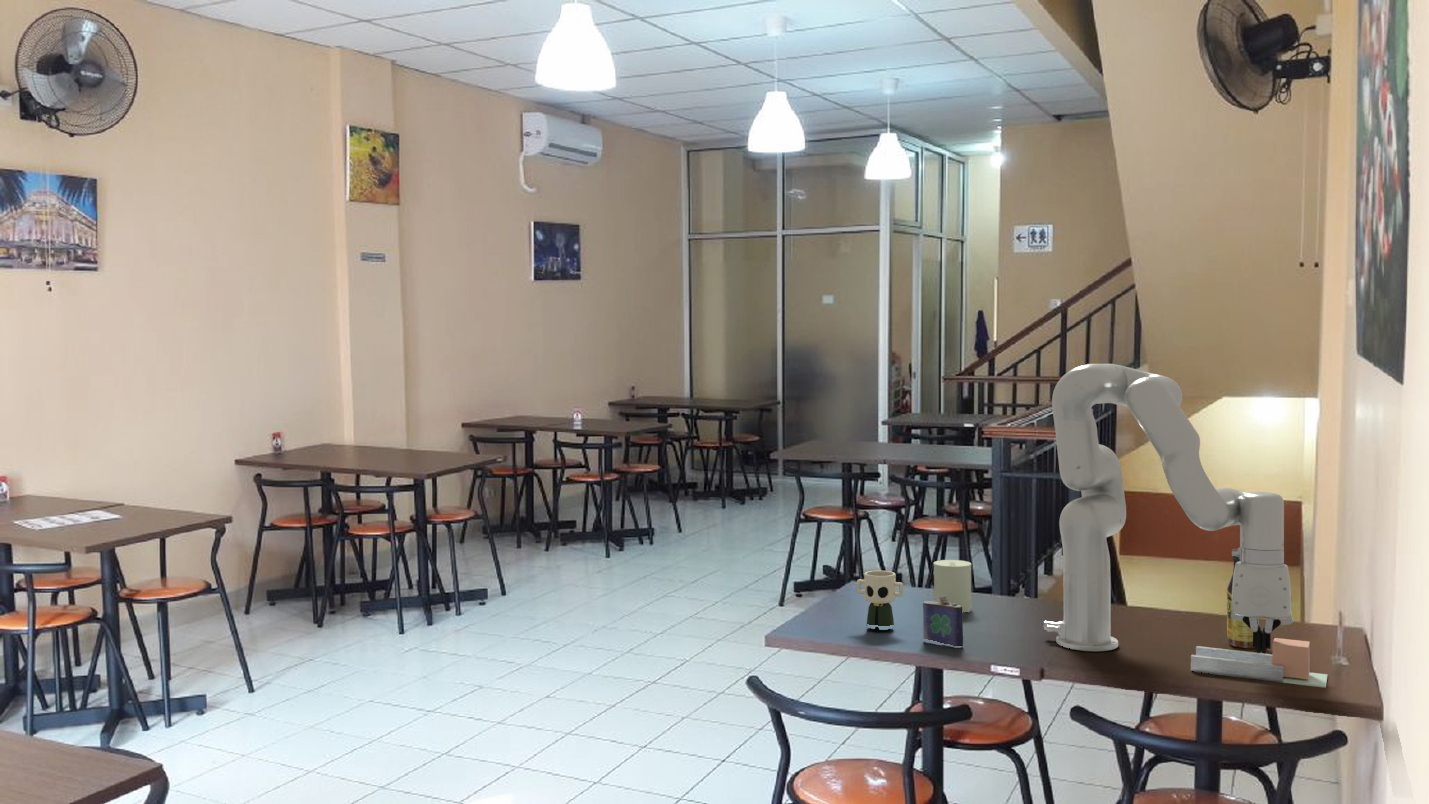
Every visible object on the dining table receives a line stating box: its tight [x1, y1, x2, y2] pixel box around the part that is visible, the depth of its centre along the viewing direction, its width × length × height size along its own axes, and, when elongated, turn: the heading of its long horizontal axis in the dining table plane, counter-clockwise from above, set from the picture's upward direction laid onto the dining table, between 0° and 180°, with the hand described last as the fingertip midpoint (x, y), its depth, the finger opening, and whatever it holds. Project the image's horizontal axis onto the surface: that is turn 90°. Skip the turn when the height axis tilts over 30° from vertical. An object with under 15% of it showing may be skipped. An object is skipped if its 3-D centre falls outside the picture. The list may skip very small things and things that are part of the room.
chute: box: [1190, 645, 1284, 684], centre depth 213 cm, size 16×9×3 cm, turn 59°
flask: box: [922, 595, 964, 647], centre depth 236 cm, size 9×3×11 cm, turn 50°
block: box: [1271, 637, 1311, 679], centre depth 208 cm, size 6×5×6 cm
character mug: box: [856, 570, 904, 626], centre depth 250 cm, size 11×7×13 cm, turn 65°
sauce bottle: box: [1226, 556, 1261, 650], centre depth 231 cm, size 6×6×20 cm
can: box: [933, 559, 973, 611], centre depth 269 cm, size 9×9×12 cm
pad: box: [1283, 672, 1328, 689], centre depth 207 cm, size 7×9×1 cm
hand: (1261, 651), depth 211 cm, fingers closed
